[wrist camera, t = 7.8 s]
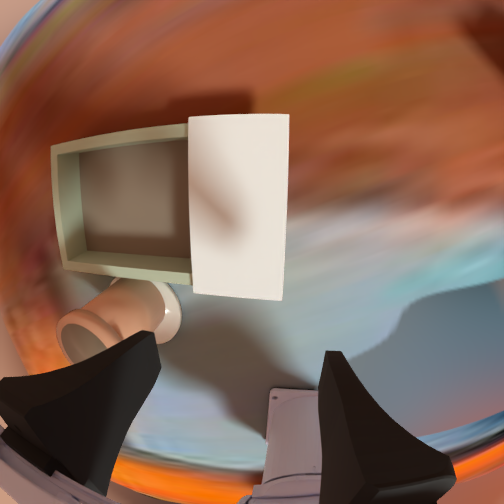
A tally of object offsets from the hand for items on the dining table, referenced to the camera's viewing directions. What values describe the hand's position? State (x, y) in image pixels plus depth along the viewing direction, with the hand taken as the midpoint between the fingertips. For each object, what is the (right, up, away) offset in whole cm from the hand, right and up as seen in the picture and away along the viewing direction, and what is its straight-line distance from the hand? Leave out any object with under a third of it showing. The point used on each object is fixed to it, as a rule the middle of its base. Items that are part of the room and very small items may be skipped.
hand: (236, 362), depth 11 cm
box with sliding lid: (-6, +8, +9) cm, 14 cm away
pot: (-9, 0, +11) cm, 14 cm away
